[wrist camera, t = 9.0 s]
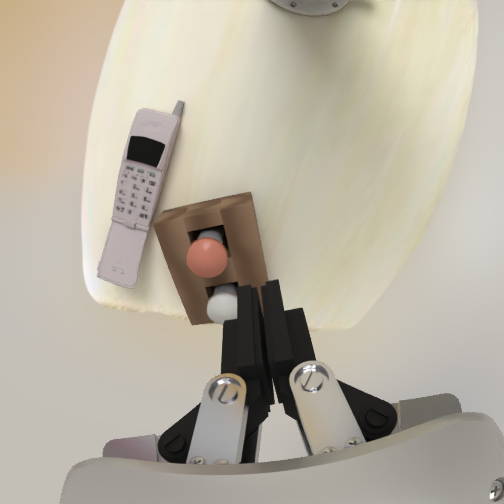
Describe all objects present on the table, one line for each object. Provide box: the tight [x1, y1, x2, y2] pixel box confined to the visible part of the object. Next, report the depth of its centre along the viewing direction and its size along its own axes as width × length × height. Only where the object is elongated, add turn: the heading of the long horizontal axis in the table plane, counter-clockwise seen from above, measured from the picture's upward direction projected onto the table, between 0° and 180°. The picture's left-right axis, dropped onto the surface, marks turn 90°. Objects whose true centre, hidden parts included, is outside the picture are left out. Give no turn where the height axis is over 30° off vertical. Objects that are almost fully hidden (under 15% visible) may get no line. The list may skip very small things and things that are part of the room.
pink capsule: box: [186, 225, 227, 278], centre depth 33 cm, size 4×4×7 cm
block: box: [153, 192, 268, 325], centre depth 37 cm, size 12×16×5 cm
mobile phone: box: [97, 100, 184, 289], centre depth 32 cm, size 6×6×25 cm
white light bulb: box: [207, 282, 237, 324], centre depth 37 cm, size 4×4×7 cm
